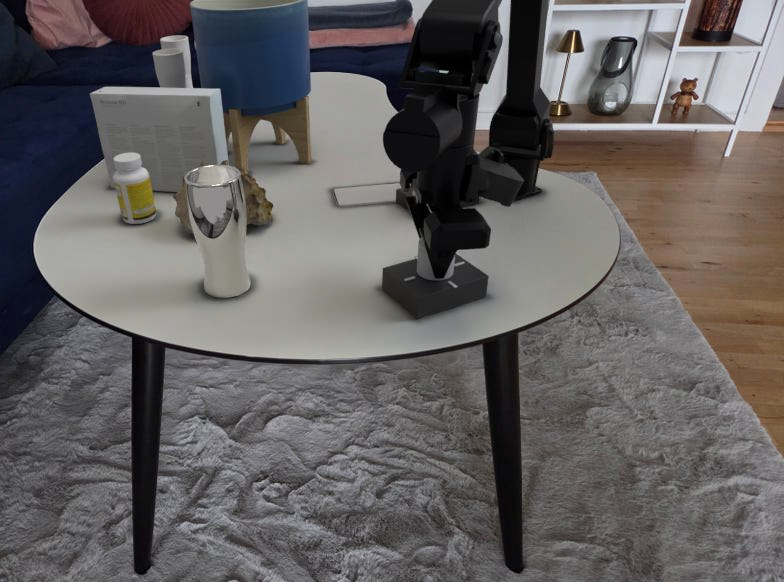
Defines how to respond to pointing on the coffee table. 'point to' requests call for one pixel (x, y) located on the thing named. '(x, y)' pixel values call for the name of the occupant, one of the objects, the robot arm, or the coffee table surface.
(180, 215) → the seashell
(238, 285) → the beer glass
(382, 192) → the smartphone
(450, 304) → the timer panel
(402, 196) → the button block
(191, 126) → the skincare box
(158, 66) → the binoculars
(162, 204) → the coffee table surface
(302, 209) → the coffee table surface
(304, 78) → the planter
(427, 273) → the timer knob
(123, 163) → the supplement bottle
